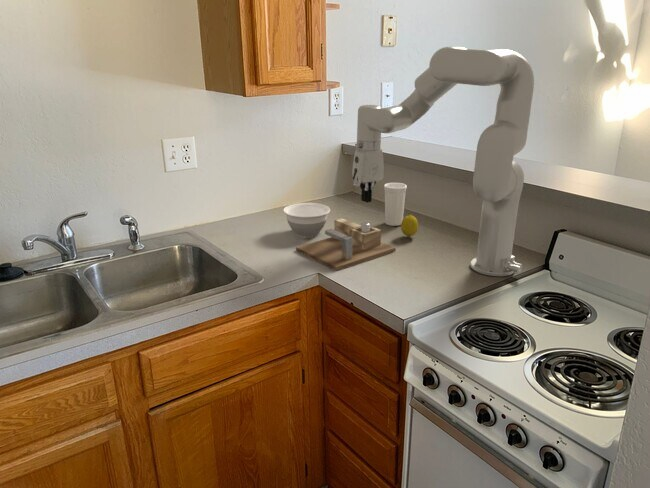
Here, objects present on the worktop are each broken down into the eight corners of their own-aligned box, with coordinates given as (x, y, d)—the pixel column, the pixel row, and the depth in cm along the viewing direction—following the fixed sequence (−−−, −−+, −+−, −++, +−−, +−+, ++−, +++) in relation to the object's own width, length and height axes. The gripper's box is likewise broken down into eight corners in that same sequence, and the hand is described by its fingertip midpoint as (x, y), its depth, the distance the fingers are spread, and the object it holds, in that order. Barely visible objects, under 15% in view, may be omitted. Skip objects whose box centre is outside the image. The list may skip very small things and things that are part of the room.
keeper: (352, 258, 160) (352, 237, 157) (346, 260, 158) (346, 239, 156) (331, 248, 167) (331, 228, 165) (325, 250, 166) (325, 230, 163)
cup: (402, 220, 197) (404, 182, 191) (407, 227, 189) (409, 188, 184) (380, 220, 196) (382, 182, 191) (384, 227, 189) (385, 188, 184)
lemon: (416, 234, 182) (418, 212, 179) (417, 240, 177) (419, 217, 174) (400, 234, 183) (401, 211, 180) (400, 240, 177) (402, 217, 174)
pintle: (371, 244, 170) (372, 223, 168) (365, 246, 168) (365, 225, 166) (365, 242, 172) (366, 221, 170) (359, 244, 170) (359, 223, 168)
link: (380, 244, 170) (381, 230, 168) (364, 250, 166) (364, 234, 164) (345, 230, 182) (345, 216, 181) (329, 235, 178) (329, 221, 176)
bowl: (278, 228, 189) (277, 205, 186) (321, 223, 194) (321, 200, 190) (291, 243, 175) (290, 218, 172) (336, 238, 179) (337, 213, 176)
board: (395, 251, 168) (395, 247, 168) (336, 270, 154) (336, 266, 154) (353, 234, 183) (353, 230, 182) (296, 250, 169) (296, 247, 168)
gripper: (358, 150, 162) (356, 208, 169) (393, 144, 170) (390, 200, 177) (342, 146, 167) (341, 202, 174) (377, 141, 176) (374, 194, 183)
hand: (366, 201), depth 176 cm, fingers closed
